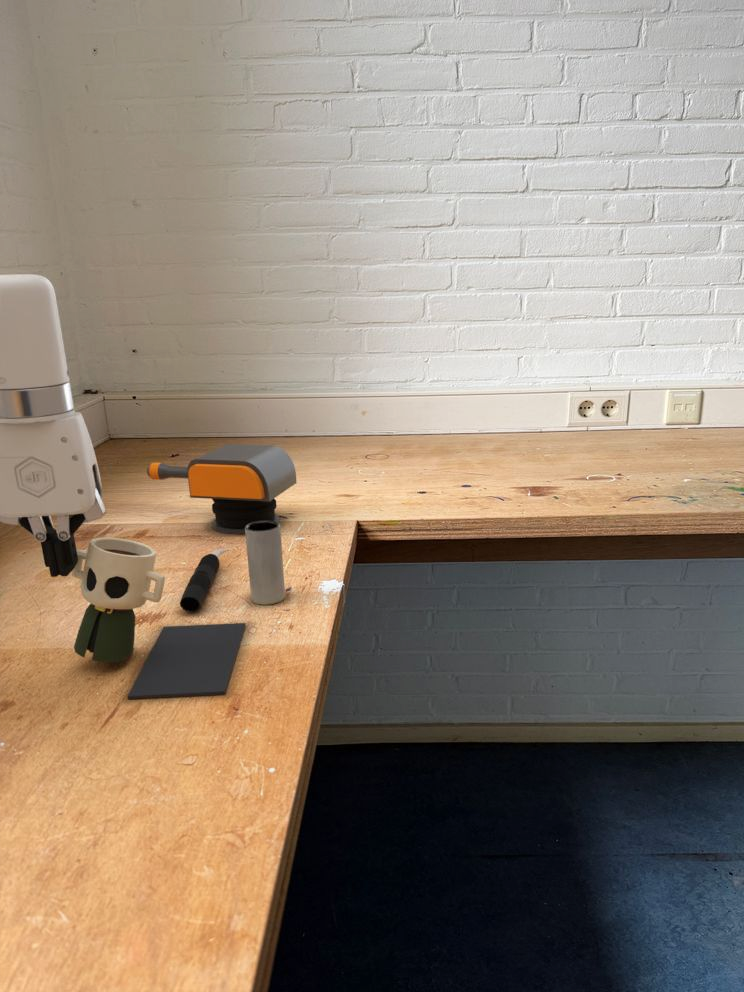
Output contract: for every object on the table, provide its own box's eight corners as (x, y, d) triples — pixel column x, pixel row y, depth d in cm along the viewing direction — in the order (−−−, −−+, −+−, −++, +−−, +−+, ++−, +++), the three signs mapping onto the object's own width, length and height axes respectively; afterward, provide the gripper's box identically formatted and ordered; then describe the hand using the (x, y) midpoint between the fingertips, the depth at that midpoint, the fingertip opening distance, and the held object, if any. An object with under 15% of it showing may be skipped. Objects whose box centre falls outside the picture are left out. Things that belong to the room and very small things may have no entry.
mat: (127, 699, 82) (127, 696, 82) (163, 629, 98) (163, 626, 98) (225, 694, 83) (224, 691, 83) (245, 625, 99) (245, 622, 99)
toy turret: (176, 506, 150) (168, 440, 146) (301, 513, 144) (296, 444, 140) (133, 530, 137) (123, 458, 133) (269, 539, 131) (262, 463, 127)
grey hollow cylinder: (245, 603, 106) (238, 529, 102) (260, 590, 110) (254, 519, 107) (276, 606, 104) (270, 532, 101) (291, 593, 109) (285, 521, 105)
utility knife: (208, 559, 122) (206, 540, 121) (234, 558, 123) (232, 539, 122) (178, 616, 102) (176, 595, 101) (210, 615, 102) (208, 593, 101)
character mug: (39, 650, 87) (59, 537, 85) (77, 634, 94) (96, 529, 92) (130, 680, 86) (152, 565, 83) (161, 661, 93) (183, 555, 90)
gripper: (-62, 412, 77) (-23, 589, 83) (97, 406, 77) (124, 581, 83) (-27, 400, 84) (6, 563, 90) (118, 394, 85) (141, 557, 90)
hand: (63, 571), depth 87 cm, fingers closed
